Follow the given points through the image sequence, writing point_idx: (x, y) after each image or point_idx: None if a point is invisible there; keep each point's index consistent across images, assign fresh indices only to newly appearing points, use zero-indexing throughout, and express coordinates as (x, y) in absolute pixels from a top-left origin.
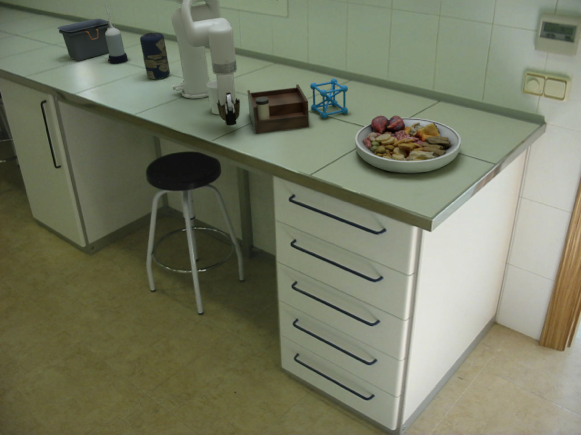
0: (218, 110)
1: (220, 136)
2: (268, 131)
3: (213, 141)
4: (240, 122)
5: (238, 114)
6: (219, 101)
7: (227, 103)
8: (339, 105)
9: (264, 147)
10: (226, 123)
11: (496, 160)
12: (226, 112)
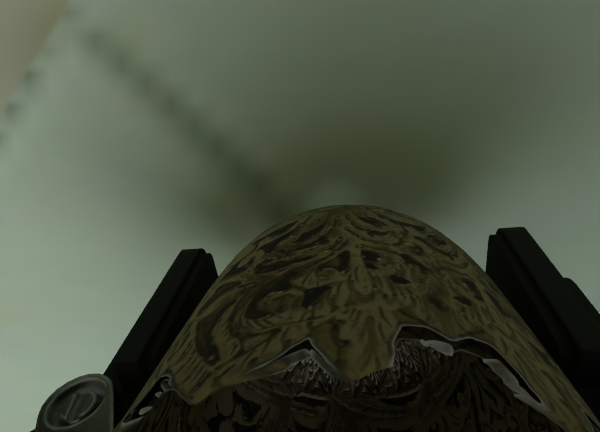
0: (314, 254)
1: (199, 119)
2: None
3: (75, 47)
4: None
5: (288, 426)
6: (544, 398)
7: (556, 428)
8: None
9: (17, 404)
10: (178, 258)
11: None
12: (41, 417)
